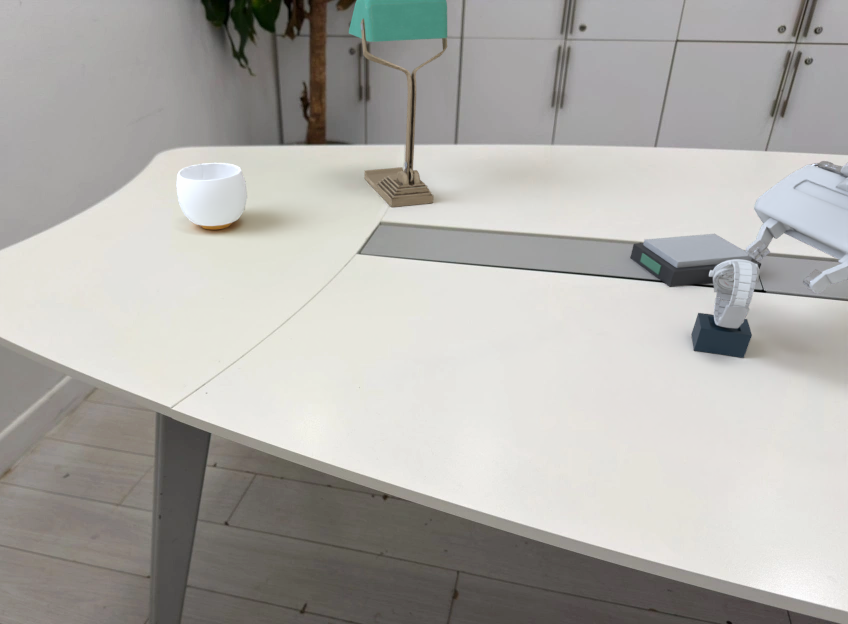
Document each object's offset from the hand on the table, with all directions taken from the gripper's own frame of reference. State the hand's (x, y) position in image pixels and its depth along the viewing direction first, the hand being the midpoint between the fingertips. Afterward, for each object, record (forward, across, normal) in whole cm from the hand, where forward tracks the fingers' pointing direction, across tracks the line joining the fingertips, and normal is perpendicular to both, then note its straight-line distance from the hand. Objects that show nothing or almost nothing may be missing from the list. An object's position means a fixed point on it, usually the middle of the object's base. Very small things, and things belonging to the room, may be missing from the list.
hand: (778, 271), depth 78 cm
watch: (+10, -1, +4) cm, 11 cm away
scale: (+2, -23, +12) cm, 26 cm away
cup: (+53, -58, -39) cm, 88 cm away
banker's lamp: (+26, -71, -13) cm, 77 cm away
